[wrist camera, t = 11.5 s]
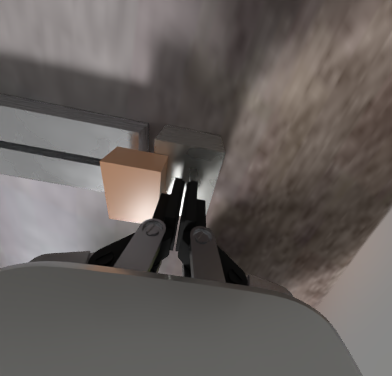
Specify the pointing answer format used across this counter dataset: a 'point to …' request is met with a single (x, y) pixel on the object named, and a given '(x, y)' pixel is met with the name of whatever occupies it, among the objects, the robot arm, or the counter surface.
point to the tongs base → (113, 139)
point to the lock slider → (133, 183)
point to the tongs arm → (50, 166)
